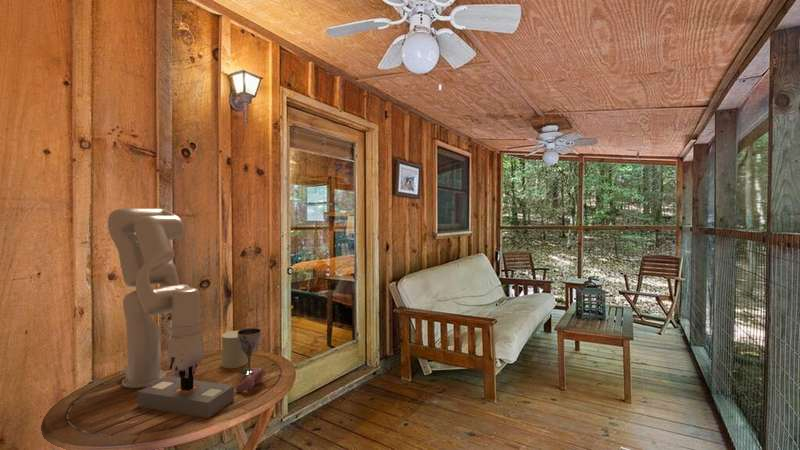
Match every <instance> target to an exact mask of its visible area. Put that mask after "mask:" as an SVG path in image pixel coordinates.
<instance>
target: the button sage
mask: <svg viewBox="0 0 800 450" xmlns="http://www.w3.org/2000/svg"><path fill="white" fill-rule="evenodd" d="M222 391H223V390H220V389H213V388H210V389H209V390H207V391H205V392H204V393H202V394H201V396H208V397H214V396H215V395H217V394H219V393H220V392H222Z"/></svg>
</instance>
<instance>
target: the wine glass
mask: <svg viewBox="0 0 800 450" xmlns="http://www.w3.org/2000/svg"><path fill="white" fill-rule="evenodd" d="M237 331H238V333H237V337H238V344H239V347H240V349H241V350H242V351H243V352H244V353H245V354H246V355H247V361H248V363H247V368H244V369H240V371H239V372H238V375H240V376H243V377H247V376H248V375H249V374H250V373H251V371H253V370H255V369H258V368H259V367H252V366H251V361H252V356H253V354H254V353H255V351H256V350H257V349H258V348H259V346H260V342H261V337H262V335H261V334H262V330H261V328H257V327H247V328H243V329H240V330H237Z"/></svg>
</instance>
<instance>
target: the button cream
mask: <svg viewBox="0 0 800 450" xmlns="http://www.w3.org/2000/svg"><path fill="white" fill-rule="evenodd" d="M172 384H174V383H171V382H164V381H162V382H160V383H158V384H156V385H154V386H152V387H151V388H155V389H162V390H163V389H165V388H166V387H168V386H170V385H172Z"/></svg>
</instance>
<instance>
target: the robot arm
mask: <svg viewBox="0 0 800 450" xmlns="http://www.w3.org/2000/svg"><path fill="white" fill-rule="evenodd" d="M107 229H108V232H109V235H110V238H111V239H112V241H113V244H114V245H115V247H116V250H117V253H118V257H119V264H120V269H121V274H122V279H123V282H124V283H125V285H126V286H128V287H132V288H134V287H135V290H133V291H131V292H129V293H127V294H126V295H125V296H124V298H123V300H122V307H123V308H122V309H123V312H124V317H125V324H126V326H125V327H126V350H127V351H126V356H127V357H126V361H127V363H126V365H125V366H124V368H123V369H122V368H121V370H120V374H125V378H123V379H122V381H121V385H122V387H123V388H127V389H139V388H141V389H142V388H146V387H148V386H150V385H152V384H154V383H156V382H158V381H160V380H162V379H164V378H166V377H167V373H166V371H164V370H162V369H161V368H162V367H161V327H160V325H159V323H158V322H156V320H154V318H153V317H154V316H159V315H162V314H163V315H164V314H167V313H171V336H170V337H169V340H168V344H167V345H168V347H167V354H166V369H167V370H168V371H170V377H178V378H181V390H188V391H189V390H191V389H193V380H194V376H195V375H196V369H197V367H199V365H201V364H202V361H203V359H204V354H205V353H204V352H205V351H204V349H205V348H204V340H203V334H202V331H201V325H202V322H201V292H200V290H199V289H198V288H195V287H191V286H189V285H188V284H186V283H185V284H182V283H181V284H180V281H179V276H178V272H177V268H176V265H175V263H174V261H173V260H174V257H175V251H174V248H173V246H172V243H171V240H179V239H181V238H182V237H183V236H184V233H185V225H184V222H183V220H182V219H181V217H180V216H178V215H176V214H175V213H172V212H171V211H168V210H166V209H165V208H159V207H158V208H154V207H152V208H151V207H150V208H149V207H147V208H146V207H136V208H135V207H126V208H118V209H115V210H113V211H111V212H110V214H109V215H108V217H107ZM152 285H159V286H158V287H157V286H156V287H152Z"/></svg>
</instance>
